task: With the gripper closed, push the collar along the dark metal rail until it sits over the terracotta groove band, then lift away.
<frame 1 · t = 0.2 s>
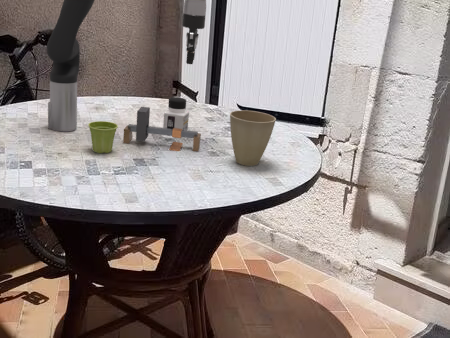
hand: (190, 61, 191), 29 cm above the table, fingers open, 8 cm apart
plant pot 2: (102, 151, 182), on the table
plant pot: (247, 163, 186), on the table
container: (175, 131, 212), on the table
collar: (142, 123, 192), point 7 cm above the table, slide at 0.0 cm
rail: (161, 145, 194), on the table
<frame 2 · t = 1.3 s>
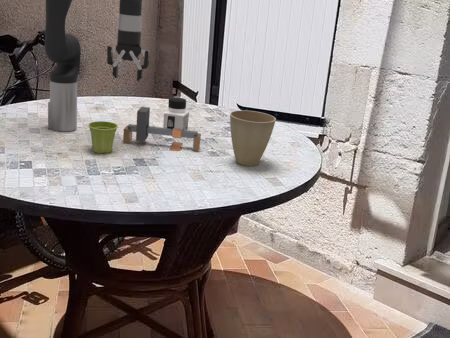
hand: (127, 79, 187), 22 cm above the table, fingers open, 7 cm apart
nothing on the table moved.
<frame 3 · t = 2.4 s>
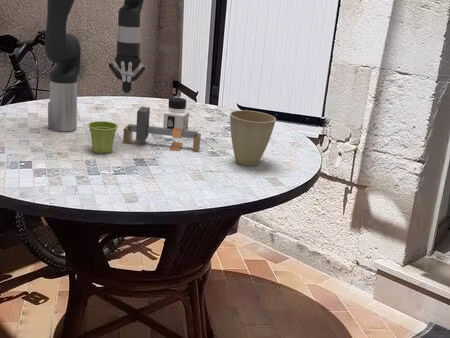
hand: (126, 92, 189), 17 cm above the table, fingers closed
nothing on the table moved.
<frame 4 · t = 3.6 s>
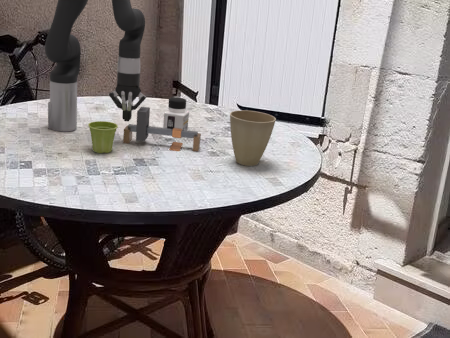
hand: (126, 120, 192), 7 cm above the table, fingers closed
nothing on the table moved.
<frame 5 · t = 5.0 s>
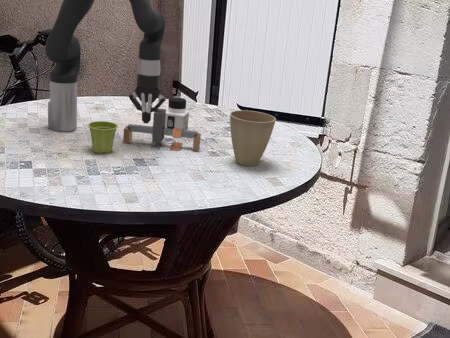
hand: (146, 122, 192), 7 cm above the table, fingers closed
collar: (159, 125, 192), point 7 cm above the table, slide at 5.6 cm, touching gripper
everything else where it was.
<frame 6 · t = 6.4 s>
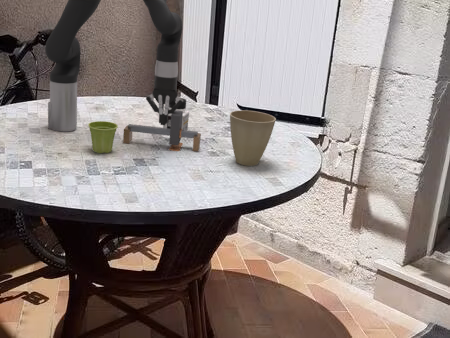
hand: (163, 124, 192), 7 cm above the table, fingers closed
collar: (176, 127, 192), point 7 cm above the table, slide at 11.5 cm, touching gripper, hand
everything else where it was.
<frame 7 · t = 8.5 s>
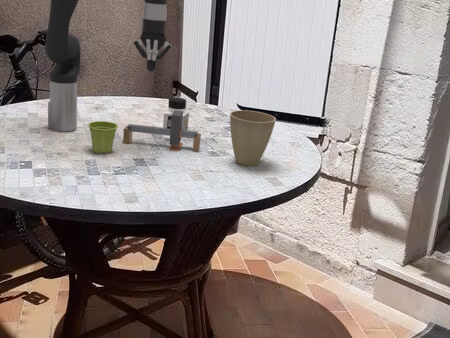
hand: (151, 71, 187), 25 cm above the table, fingers closed
collar: (176, 127, 192), point 7 cm above the table, slide at 11.6 cm
everything else where it was.
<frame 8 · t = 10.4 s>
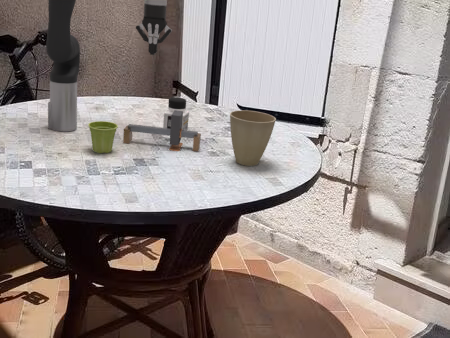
hand: (152, 54, 196), 29 cm above the table, fingers closed
nothing on the table moved.
at the end: collar slide at 11.6 cm; collar touching nothing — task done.
